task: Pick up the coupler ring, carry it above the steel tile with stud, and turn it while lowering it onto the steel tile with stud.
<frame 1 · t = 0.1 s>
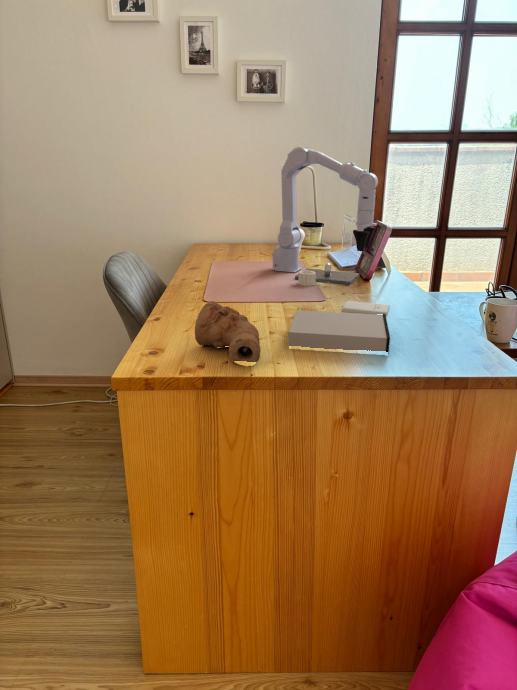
hand: (362, 249, 180), 10 cm above the table, tool pointing down, fingers open, 7 cm apart
disc drive: (338, 342, 122), on the table
coupler ring: (306, 283, 174), on the table
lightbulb: (297, 253, 226), on the table
steel tile with stud: (327, 277, 183), on the table
external hard drive: (366, 311, 146), on the table
clay pipe: (227, 353, 114), on the table
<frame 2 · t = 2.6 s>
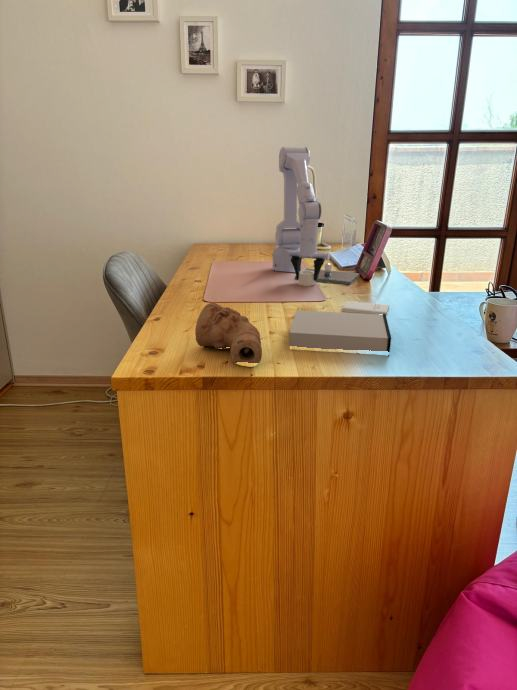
hand: (306, 279, 173), 2 cm above the table, tool pointing down, fingers closed on coupler ring, 6 cm apart
coupler ring: (306, 283, 174), on the table, touching gripper
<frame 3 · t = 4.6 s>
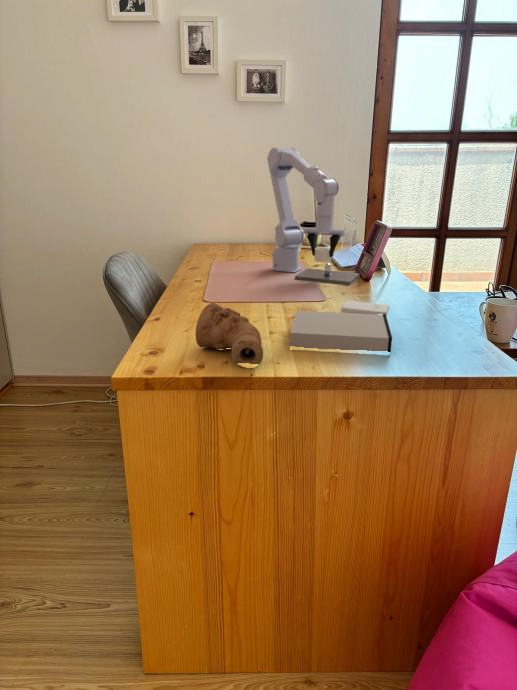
hand: (322, 255, 177), 8 cm above the table, tool pointing down, fingers closed on coupler ring, 6 cm apart
coupler ring: (322, 260, 178), point 7 cm above the table, touching gripper
when the fingers open (3 cm above the table, at t = 6.5 s): coupler ring stays where it is, resting on steel tile with stud.
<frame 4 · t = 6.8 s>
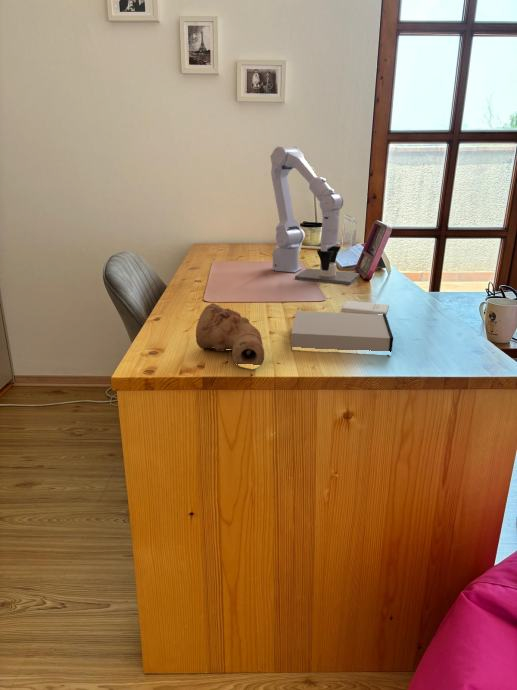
hand: (328, 268, 182), 3 cm above the table, tool pointing down, fingers open, 7 cm apart
coupler ring: (327, 274, 182), point 1 cm above the table, touching steel tile with stud
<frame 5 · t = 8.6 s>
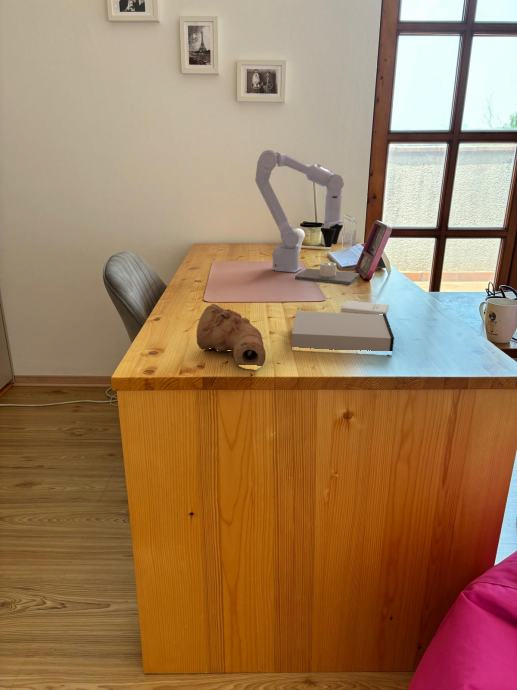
hand: (330, 245, 191), 9 cm above the table, tool pointing down, fingers open, 7 cm apart
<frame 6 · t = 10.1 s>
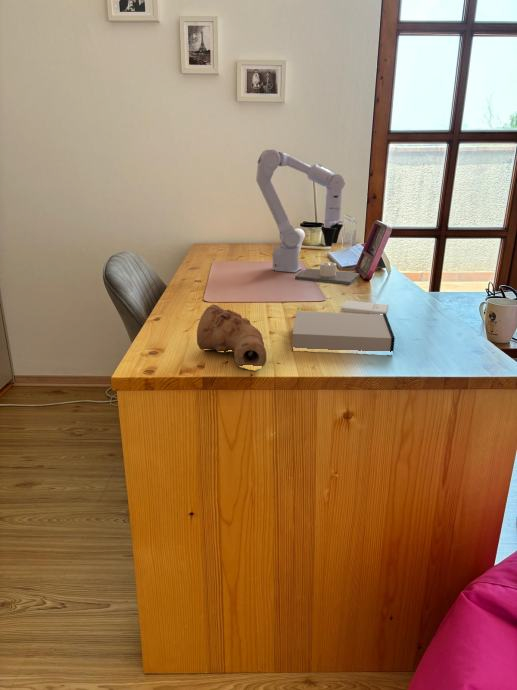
hand: (331, 244, 193), 9 cm above the table, tool pointing down, fingers open, 7 cm apart
at the end: coupler ring 0.0 cm off-centre on the steel tile with stud, point 1.0 cm above the steel tile with stud's base; coupler ring tilted 0°; the gripper is holding nothing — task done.
